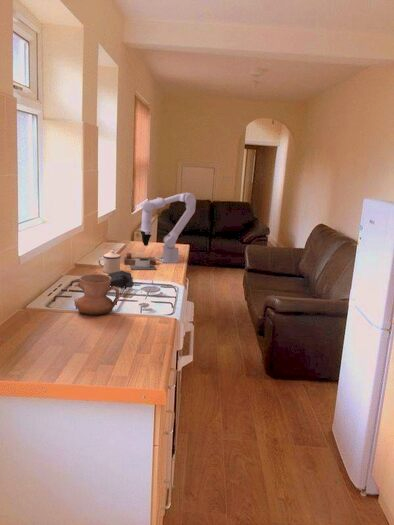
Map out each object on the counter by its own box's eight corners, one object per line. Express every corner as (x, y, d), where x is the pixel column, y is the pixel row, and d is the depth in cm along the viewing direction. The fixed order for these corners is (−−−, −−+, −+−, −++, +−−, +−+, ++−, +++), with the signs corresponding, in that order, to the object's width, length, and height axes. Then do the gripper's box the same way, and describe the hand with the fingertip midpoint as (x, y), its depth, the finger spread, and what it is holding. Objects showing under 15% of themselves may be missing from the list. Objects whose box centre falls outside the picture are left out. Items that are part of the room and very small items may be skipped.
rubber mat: (154, 266, 261) (154, 265, 260) (156, 270, 252) (156, 269, 252) (130, 266, 258) (130, 265, 258) (131, 269, 249) (131, 268, 249)
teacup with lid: (122, 270, 247) (122, 249, 244) (118, 274, 238) (118, 252, 235) (100, 268, 248) (100, 248, 245) (95, 272, 239) (96, 251, 236)
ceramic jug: (67, 316, 172) (68, 280, 169) (79, 304, 187) (80, 271, 183) (114, 320, 172) (115, 284, 169) (122, 308, 186) (123, 275, 183)
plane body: (154, 262, 271) (154, 252, 270) (155, 265, 264) (156, 255, 262) (123, 261, 268) (124, 251, 266) (124, 264, 260) (124, 254, 259)
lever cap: (149, 265, 259) (149, 257, 258) (149, 267, 254) (149, 259, 253) (134, 265, 257) (135, 257, 256) (135, 267, 253) (135, 259, 252)
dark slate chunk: (135, 277, 236) (135, 268, 235) (131, 288, 215) (131, 279, 214) (105, 276, 235) (106, 267, 234) (98, 287, 214) (99, 277, 213)
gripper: (138, 219, 273) (137, 241, 276) (140, 223, 259) (139, 246, 262) (150, 220, 274) (149, 242, 277) (152, 223, 261) (151, 246, 263)
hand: (145, 244), depth 270 cm, fingers open, 7 cm apart
